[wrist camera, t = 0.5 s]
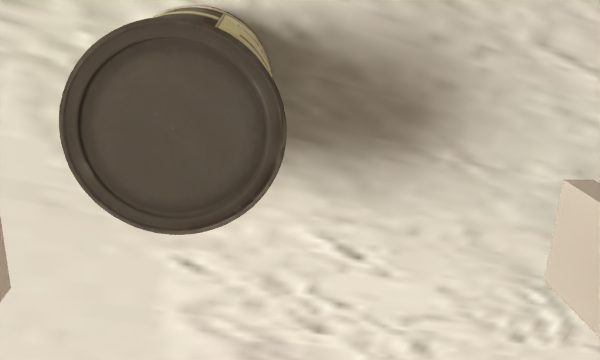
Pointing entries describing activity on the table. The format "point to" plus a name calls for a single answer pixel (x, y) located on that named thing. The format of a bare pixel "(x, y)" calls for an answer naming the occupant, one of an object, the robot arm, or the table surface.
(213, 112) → the coffee can
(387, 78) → the table surface
